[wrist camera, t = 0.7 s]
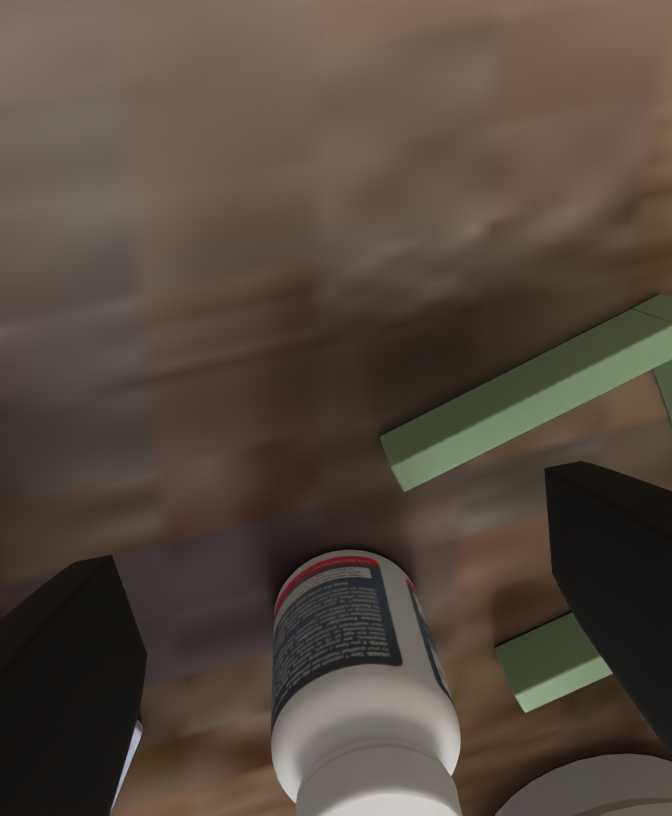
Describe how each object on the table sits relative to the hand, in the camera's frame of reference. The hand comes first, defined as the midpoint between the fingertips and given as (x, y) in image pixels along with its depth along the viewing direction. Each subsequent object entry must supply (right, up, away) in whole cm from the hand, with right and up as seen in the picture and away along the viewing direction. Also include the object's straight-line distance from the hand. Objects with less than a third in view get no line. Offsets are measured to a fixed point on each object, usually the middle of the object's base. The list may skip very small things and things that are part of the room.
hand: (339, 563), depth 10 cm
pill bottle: (0, -5, +13) cm, 14 cm away
